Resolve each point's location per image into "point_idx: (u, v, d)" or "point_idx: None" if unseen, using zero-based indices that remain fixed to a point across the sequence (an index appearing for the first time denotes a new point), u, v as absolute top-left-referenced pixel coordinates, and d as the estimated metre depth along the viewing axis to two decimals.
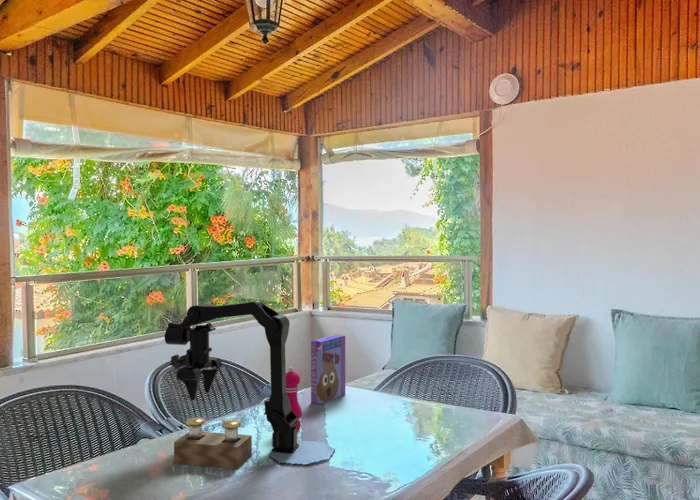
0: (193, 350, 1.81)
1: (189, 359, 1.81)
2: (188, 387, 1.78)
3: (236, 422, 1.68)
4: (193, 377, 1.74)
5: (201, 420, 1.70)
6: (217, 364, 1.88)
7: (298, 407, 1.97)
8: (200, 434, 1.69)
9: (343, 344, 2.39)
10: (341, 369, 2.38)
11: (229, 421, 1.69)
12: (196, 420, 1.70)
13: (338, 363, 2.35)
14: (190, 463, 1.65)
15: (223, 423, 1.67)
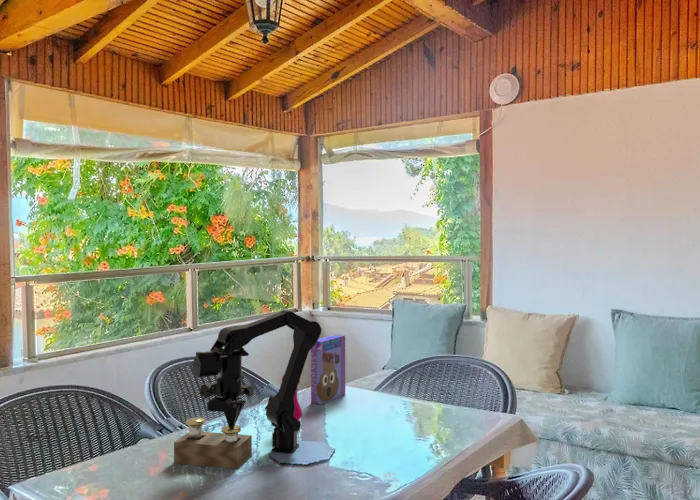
0: (224, 378, 1.65)
1: (220, 388, 1.66)
2: (226, 415, 1.66)
3: (236, 427, 1.68)
4: (226, 409, 1.58)
5: (201, 420, 1.70)
6: (249, 392, 1.73)
7: (298, 407, 1.97)
8: (200, 434, 1.69)
9: (343, 344, 2.39)
10: (341, 369, 2.38)
11: None
12: (196, 420, 1.70)
13: (338, 363, 2.35)
14: (190, 463, 1.65)
15: (223, 428, 1.67)
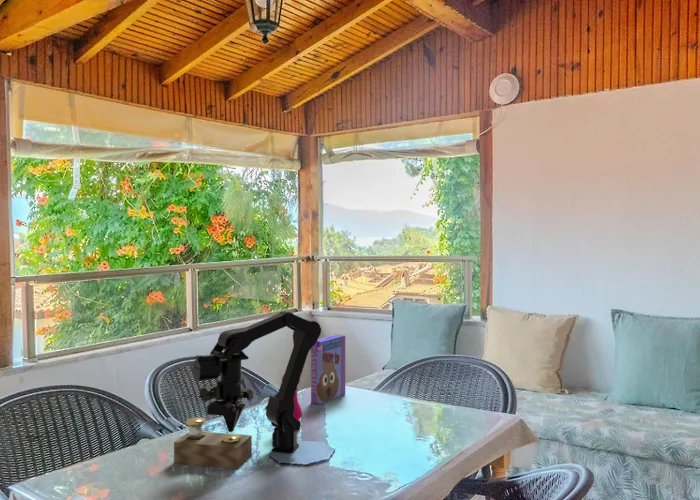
0: (224, 382, 1.65)
1: (220, 392, 1.66)
2: (226, 418, 1.66)
3: (236, 437, 1.68)
4: (226, 413, 1.58)
5: (201, 420, 1.70)
6: (249, 396, 1.73)
7: (298, 407, 1.97)
8: (200, 434, 1.69)
9: (343, 344, 2.39)
10: (341, 369, 2.38)
11: (229, 435, 1.69)
12: (196, 420, 1.70)
13: (338, 363, 2.35)
14: (190, 463, 1.65)
15: (223, 438, 1.67)
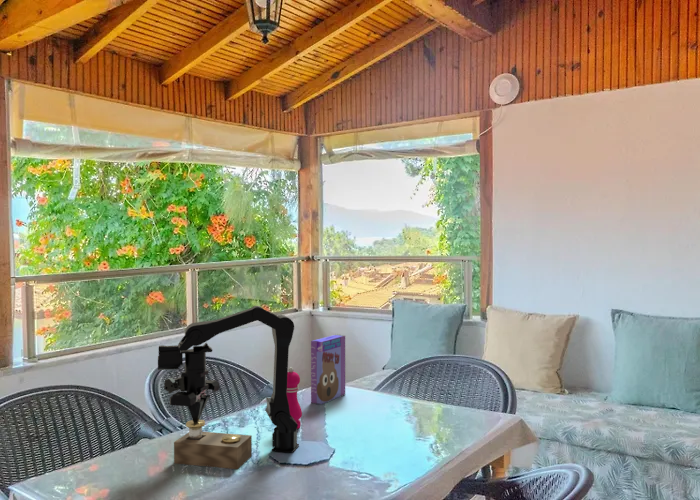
0: (188, 373, 1.67)
1: (184, 383, 1.68)
2: (190, 409, 1.69)
3: (236, 437, 1.68)
4: (188, 404, 1.61)
5: (201, 422, 1.70)
6: (214, 387, 1.75)
7: (298, 407, 1.97)
8: (200, 436, 1.69)
9: (343, 344, 2.39)
10: (341, 369, 2.38)
11: (229, 435, 1.69)
12: None
13: (338, 363, 2.35)
14: (190, 463, 1.65)
15: (223, 438, 1.67)
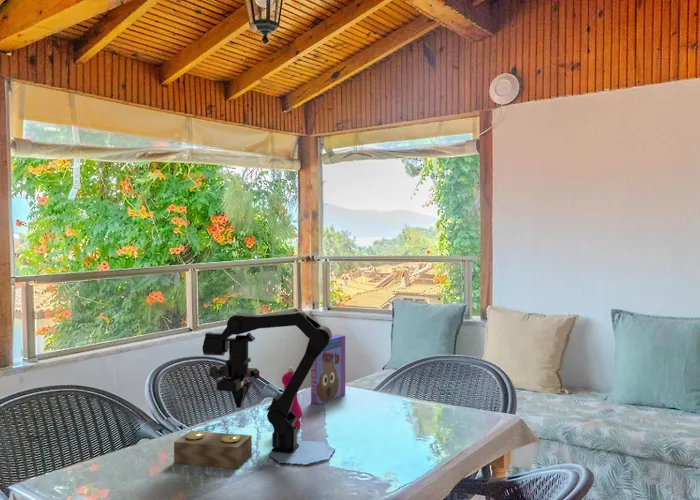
0: (232, 360, 1.76)
1: (228, 370, 1.77)
2: (234, 395, 1.78)
3: (236, 437, 1.68)
4: (234, 389, 1.69)
5: (201, 434, 1.70)
6: (255, 375, 1.84)
7: (298, 407, 1.97)
8: None
9: (343, 344, 2.39)
10: (341, 369, 2.38)
11: (229, 435, 1.69)
12: (196, 434, 1.70)
13: (338, 363, 2.35)
14: (190, 463, 1.65)
15: (223, 438, 1.67)
